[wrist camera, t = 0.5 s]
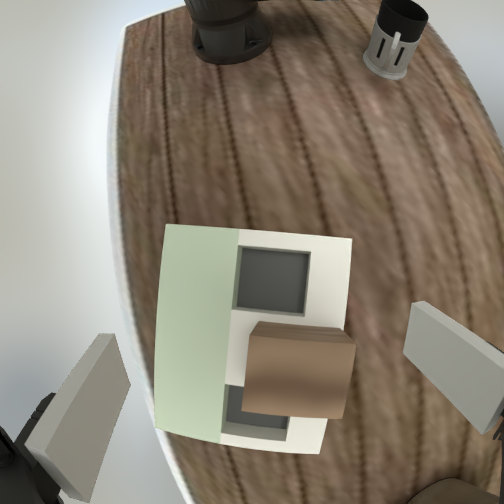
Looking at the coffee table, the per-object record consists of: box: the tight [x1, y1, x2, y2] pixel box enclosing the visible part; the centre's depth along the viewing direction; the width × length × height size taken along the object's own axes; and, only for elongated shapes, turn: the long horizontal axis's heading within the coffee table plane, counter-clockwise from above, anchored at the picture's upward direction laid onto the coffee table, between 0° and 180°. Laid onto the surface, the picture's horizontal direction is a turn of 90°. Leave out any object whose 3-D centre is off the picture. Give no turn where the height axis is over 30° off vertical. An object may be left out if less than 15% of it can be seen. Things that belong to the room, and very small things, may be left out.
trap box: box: [154, 224, 352, 454], centre depth 36 cm, size 30×24×4 cm
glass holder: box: [363, 0, 428, 80], centre depth 32 cm, size 9×14×15 cm, turn 154°
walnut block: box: [241, 321, 357, 419], centre depth 29 cm, size 8×10×9 cm
